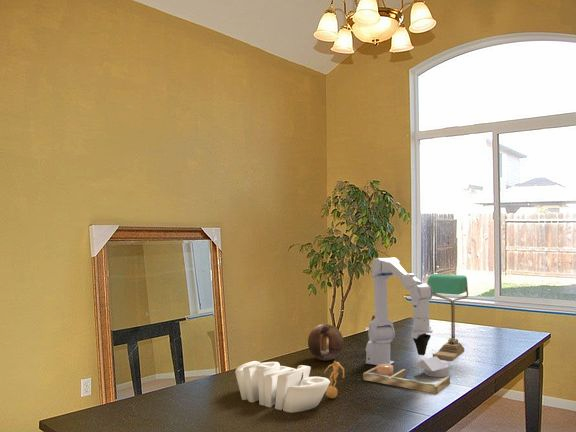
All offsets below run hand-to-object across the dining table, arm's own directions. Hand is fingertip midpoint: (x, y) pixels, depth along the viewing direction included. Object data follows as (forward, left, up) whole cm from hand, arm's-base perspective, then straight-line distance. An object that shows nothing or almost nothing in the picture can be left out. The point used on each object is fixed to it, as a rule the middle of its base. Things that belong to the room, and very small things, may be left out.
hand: (421, 354), depth 194 cm
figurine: (-18, -33, -10) cm, 39 cm away
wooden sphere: (-45, +7, -10) cm, 47 cm away
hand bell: (-35, +33, -10) cm, 49 cm away
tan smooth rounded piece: (-13, -2, -10) cm, 17 cm away
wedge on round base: (0, +12, -10) cm, 16 cm away
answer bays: (-5, -2, -10) cm, 11 cm away
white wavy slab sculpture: (-32, -45, -10) cm, 56 cm away
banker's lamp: (-5, +45, -10) cm, 46 cm away
